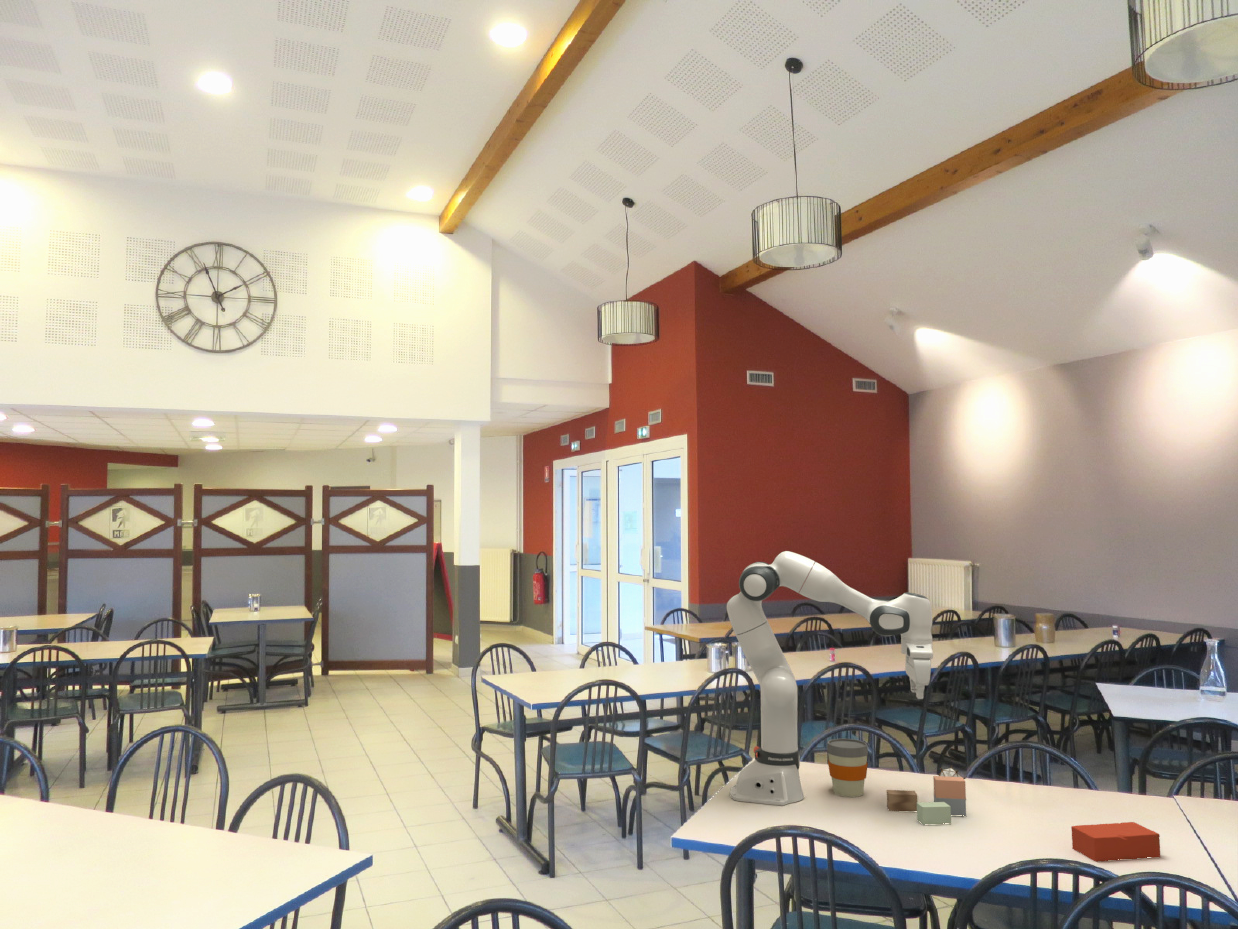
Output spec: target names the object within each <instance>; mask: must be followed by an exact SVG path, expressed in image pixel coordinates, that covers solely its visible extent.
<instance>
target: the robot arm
mask: <svg viewBox="0 0 1238 929" xmlns="http://www.w3.org/2000/svg"><path fill="white" fill-rule="evenodd" d="M739 576H740V577H739V580H738V587H739V589H740V592H739V593H737V594H735V595H734V596H732V597H730V598H729V600H728V601H727V603H726V612H727V616H728V619H729V622H730V626H731V628H732V631H733V632H734V635H735V637H736V639H737V641H738V643H739V646H740V649H741V650H742V652H743V654H744V656H745V659H746V660H747V662H748V665H750V666H749V667H750V668H751V670H752V671H753V674H754V675H755V678H756V680H757V681H758V684H759V688H760V741H761V742H760V743H761V745H760V746H761V747H760V746H758V745H755V746H754V747H753V753H754V761H752V762H750V763H749V764H748V765H746V766H745V767H744V768H743V769H741V770H740V772H739V774H738V776H737V780H736V784H734V785H732V786H731V787H730V789H729V796H730V798H731V799H732V800H733V801H738V802H748V803H757V804H765V805H773V806H785V805H788V804H791V803H796V802H799V801H801V800H804V797H805V795H804V792H803V787H802V784H801V776H800V766H801V765H800V764H801V760H800V759H801V758H800V749H799V748H798V747H799V746H798V684H797V680H796V678H795V675H794V673H793V671H792V669H791V667H790V665H789V663H788V660H787V658H786V656H785V654H784V653H783V649H782V648H781V647H780V645H779V642H778V640H777V638H776V636H775V634H774V631H773V629H772V627H771V624H770V623H769V621H768V619H767V616H766V615H765V612H764V609H763V607H762V606H763V605H762V602H763V601H764V600H765V601H766V599H767V598H769V597H770V596H771V595H772V594H773V593H774V592H775V591H776V590H777V589H778V588H779V587H784V588H788V589H790V590H792V591H794V592H796V593H798V594H799V595H801V596H803V597H806V598H808V599H810V600H812V601H817V602H819V603H820V602H822V603H826V602H827V603H834V604H837V605H840V606H842V607H843V608H844V607H845V609H848V610H850V611H851V612H854V613H855V614H858V615H860V616H861V617H863V618H864V619H865V620H866V621H867V622H868V624H869V625H870V627H871V629H872V630H873V631H874V632H875V633H876V634H878V635H880V636H883V637H891V636H897V635H900V638H901V639H900V646H901V647H900V653H901V654H902V655H905V662H904V663H905V668H904V669H905V674H906V675H907V676H908V677H909V683H910V691H911V693H915V694H916V695H915V697H916V698H917V700H923V699H924V693H925V687H926V686H929V684H930V680H931V671H932V659H934V651H933V635H932V627H933V612H932V611H933V609H932V605H931V604H932V602H931V601H930V599H929V598H927V596H925V595H922V594H919V593H914V592H904V593H903V594H901V595H900V596H897V598H895V599H891V600H887V599H879V598H878V599H877V598H873V597H870V596H868V595H866V594H864V593H862V592H860V591H858V590H856V589H855V588H853V587H850V586H849V585H847V583H844V582H843V581H842V580H841V579H840V578H839V577H838V576H837V575H836V574H835V573H833V572H832V571H831V570H830V569H828V568H826V567H825V566H824V565H822V564H820V563H818V562H817V561H815V560H813V559H811V558H809V557H807V556H804V555H802V554H799V553H796V552H793V551H789V550H785V551H782V552H780V553H779V554H778V555H776V557H775V558H774V560H773V562H772V563H770V564H769V563H767V562H766V561H756V562H755V561H754V562H753V563H751V564H749V565H747V566H746V567H745V568H744V570H743V571H742V572H741V574H740V575H739Z"/></svg>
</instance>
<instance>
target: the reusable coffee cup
mask: <svg viewBox="0 0 1238 929" xmlns="http://www.w3.org/2000/svg"><path fill="white" fill-rule="evenodd" d="M826 753H827V756H828V760H827V765H828V771H829V776H830V778H831V784H832V789H833V793H834V794H835V795H837V796H841V797H848V798H857V797H861V796H863V795H864V791H865V790H864V789H865V780H866V778H867V775H868V761H867V759H868V755H869V750H868V743H867V742H865V741H862V740H860V739H854V738H833V739H829V740H828V741H827V745H826Z"/></svg>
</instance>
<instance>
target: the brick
mask: <svg viewBox="0 0 1238 929" xmlns="http://www.w3.org/2000/svg"><path fill="white" fill-rule="evenodd" d="M1070 829H1071V840H1072V842H1071V846H1072V847H1071V848H1072V850H1074V851H1075V852H1078V853H1080V854H1081V855H1082V856H1085V857H1086V858H1088V859H1090V860H1091V861H1093V862H1097V863H1099V862H1098V861H1101V862H1109V861H1108V860H1116V861H1121V860H1120V859H1132V860H1138V859H1137V858H1147V857H1159V858H1161V844H1160V841H1161V840H1160V839H1161V838H1160V837H1161V835H1160V834H1159V833H1158V832H1156V831H1154V830H1152V829H1150V828H1147V827H1145V826H1143V825H1141V824H1139V823H1137V822H1134V821H1129V822H1120V823H1119V822H1114V823H1098V824H1097V823H1096V824H1081V825H1079V824H1078V825H1072V826H1071V828H1070ZM1118 859H1119V860H1118ZM1147 859H1148V858H1147Z"/></svg>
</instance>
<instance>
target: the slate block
mask: <svg viewBox="0 0 1238 929" xmlns="http://www.w3.org/2000/svg"><path fill="white" fill-rule="evenodd" d="M933 802H945V803H946V804H948V805H949V806H951V815H962V816H963V815H964V816H966V817H967V798H966V799H951V798H936V796H935V794H934V793H933Z"/></svg>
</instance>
